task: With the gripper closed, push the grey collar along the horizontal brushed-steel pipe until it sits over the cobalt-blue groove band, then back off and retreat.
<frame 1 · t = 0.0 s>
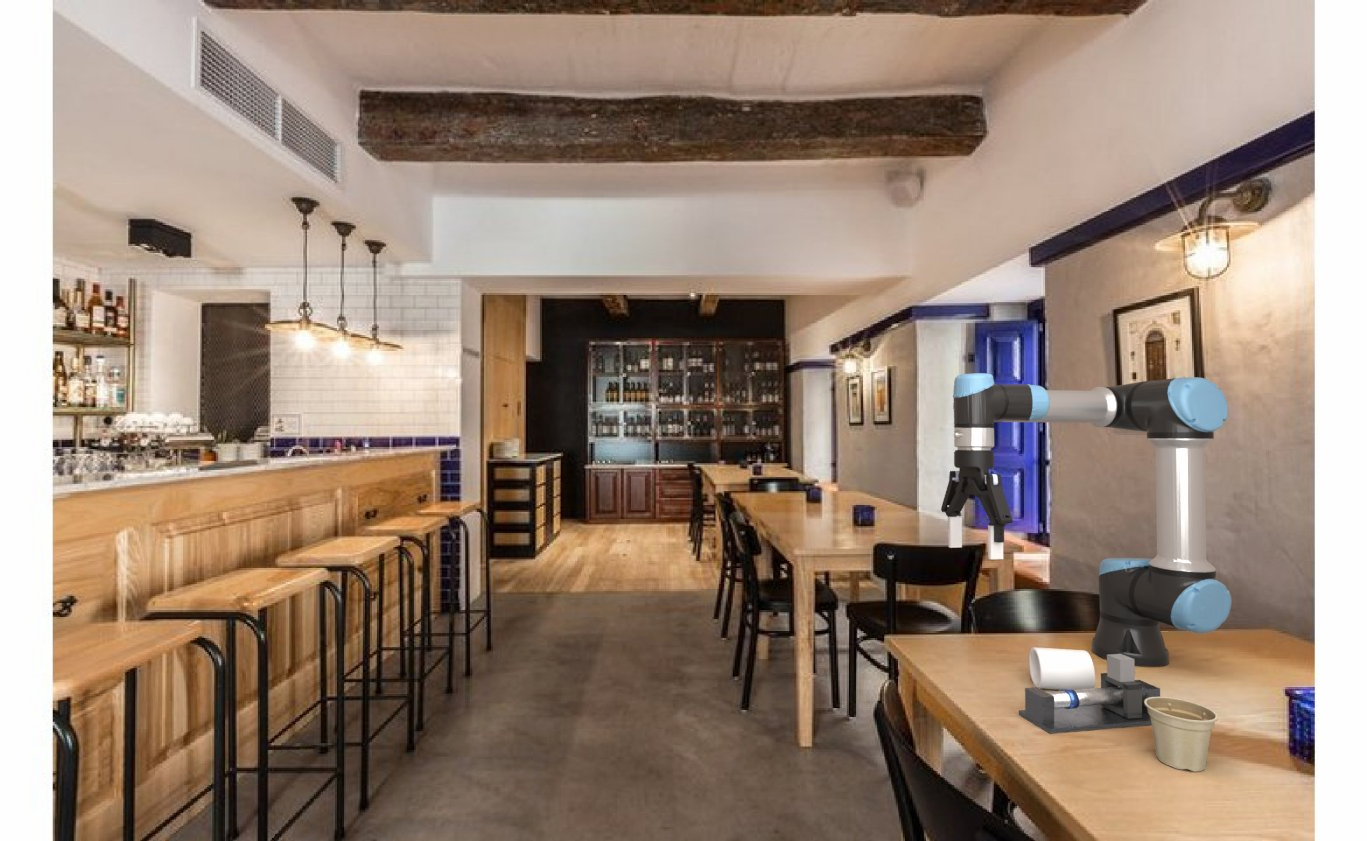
hand: (974, 552, 134), 28 cm above the table, fingers open, 13 cm apart
collar: (1120, 683, 122), point 6 cm above the table, slide at 0.0 cm
mug: (1057, 686, 137), on the table
pipe rig: (1092, 718, 121), on the table
flower pot: (1181, 764, 104), on the table
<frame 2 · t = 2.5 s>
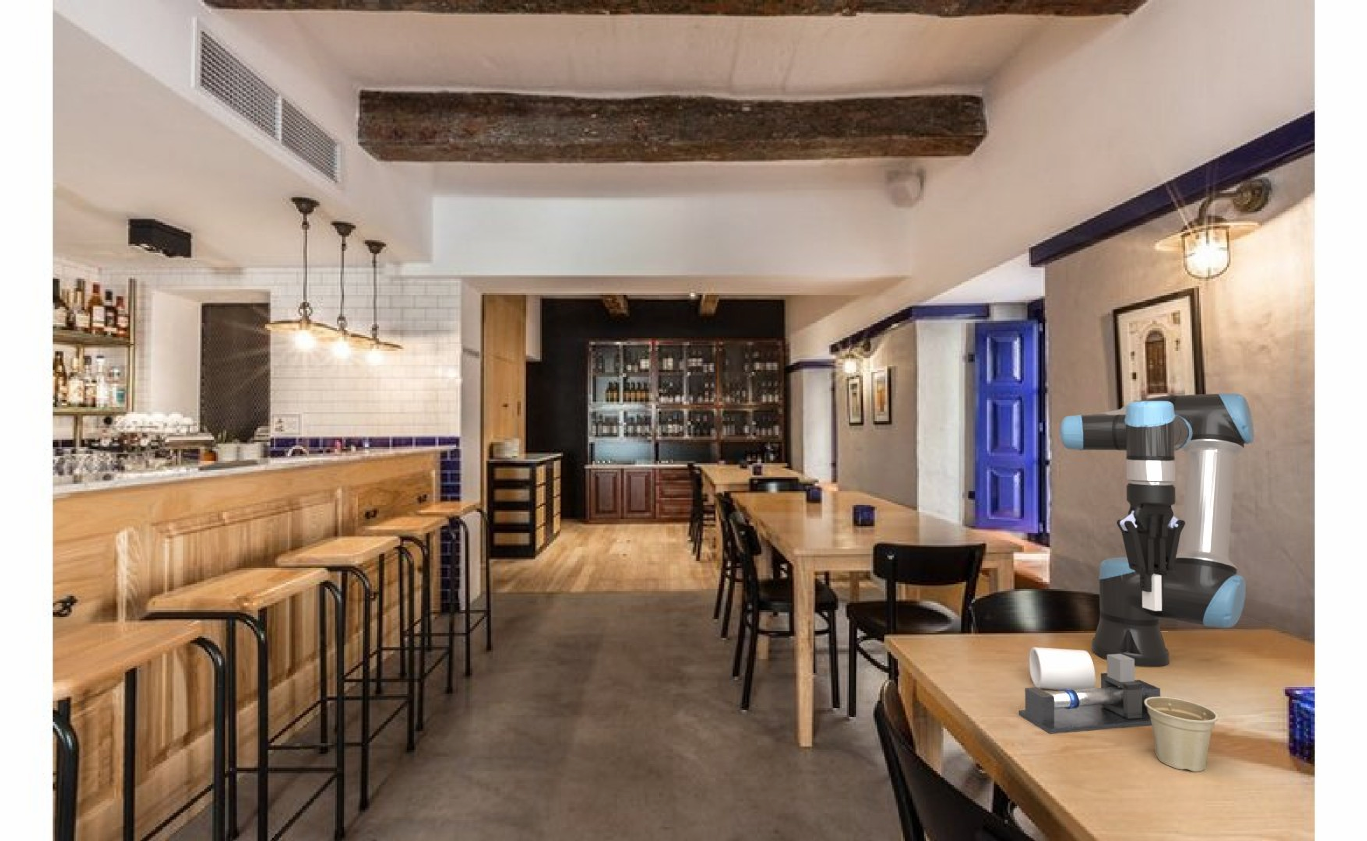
hand: (1151, 608, 123), 20 cm above the table, fingers closed
nothing on the table moved.
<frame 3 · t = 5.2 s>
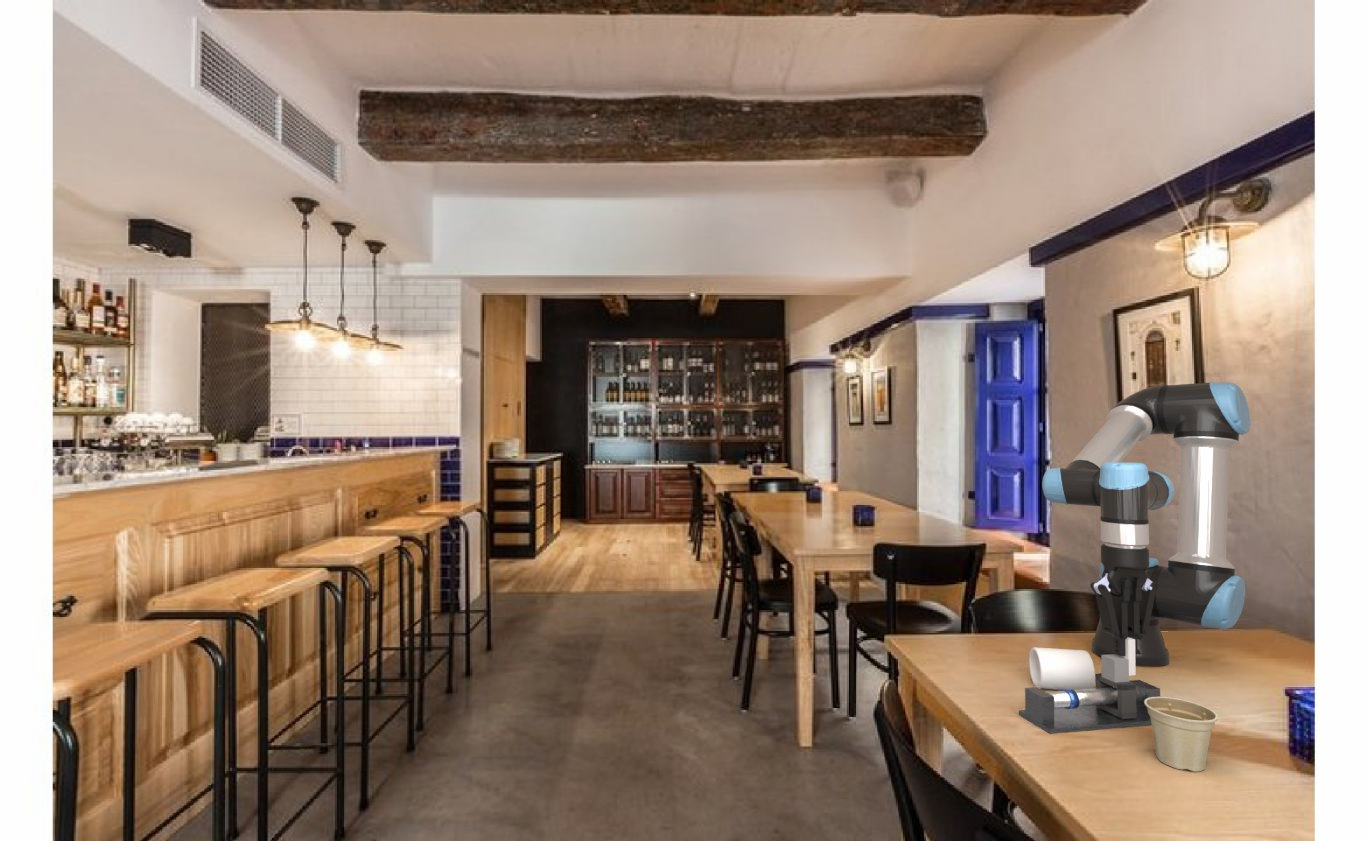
hand: (1125, 672, 122), 8 cm above the table, fingers closed
collar: (1115, 684, 122), point 6 cm above the table, slide at 1.2 cm, touching gripper
everything else where it was.
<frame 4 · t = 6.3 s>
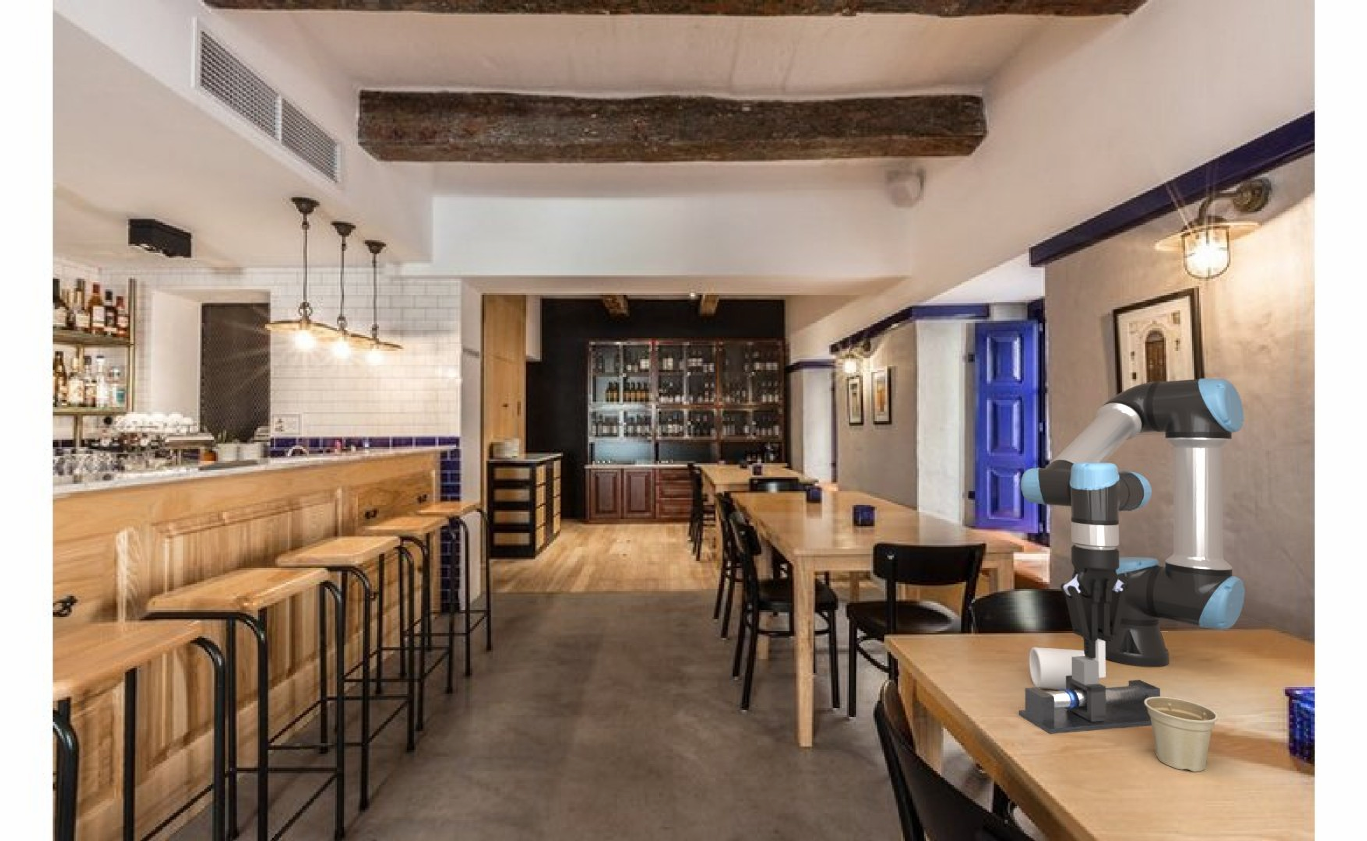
hand: (1096, 674, 121), 8 cm above the table, fingers closed
collar: (1085, 686, 120), point 6 cm above the table, slide at 7.5 cm, touching gripper
everything else where it was.
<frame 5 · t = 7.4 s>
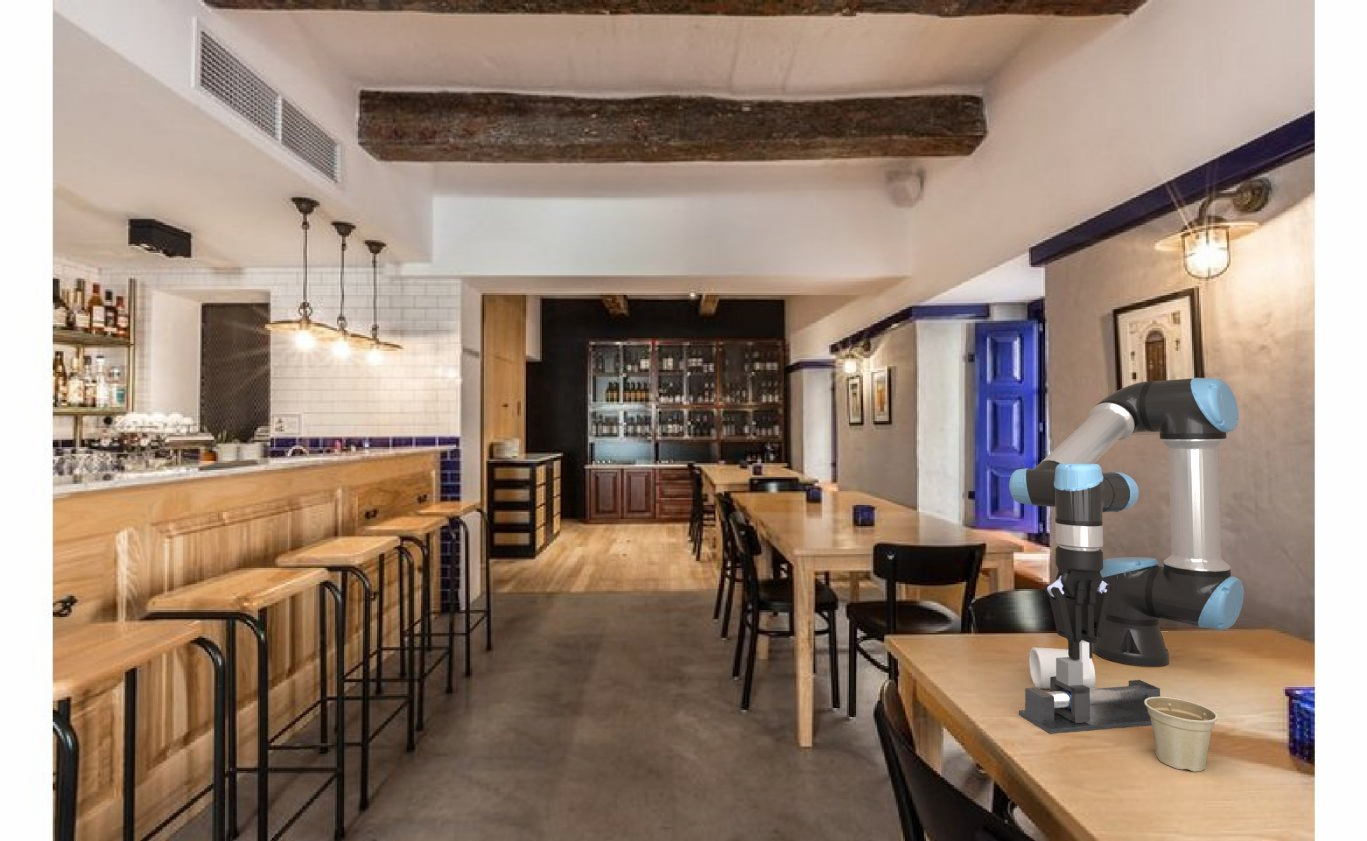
hand: (1080, 676, 120), 8 cm above the table, fingers closed
collar: (1069, 687, 120), point 6 cm above the table, slide at 10.8 cm, touching gripper
everything else where it was.
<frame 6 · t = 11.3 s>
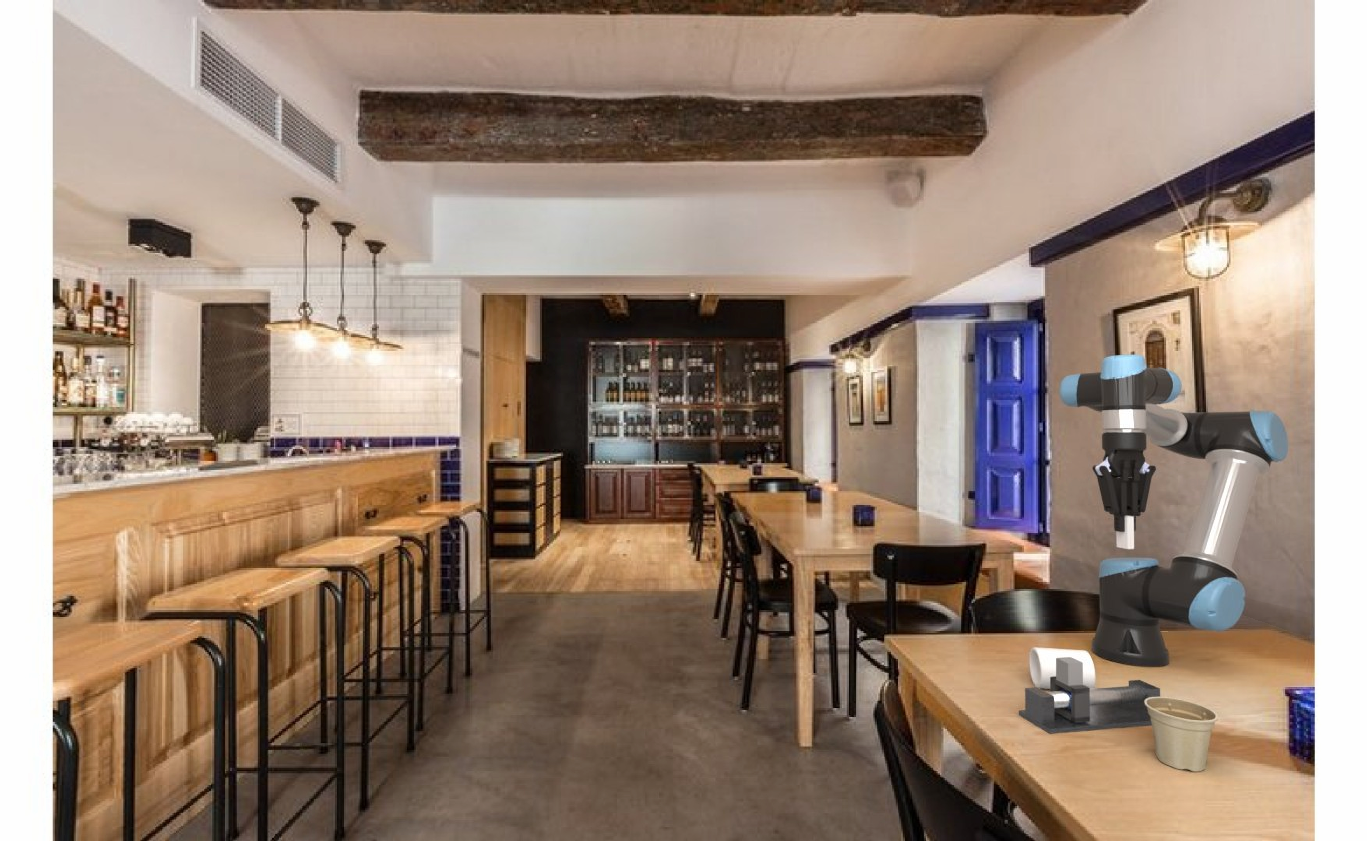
hand: (1125, 547, 133), 29 cm above the table, fingers closed
collar: (1069, 687, 120), point 6 cm above the table, slide at 10.8 cm
everything else where it was.
at the end: collar slide at 10.8 cm; collar touching nothing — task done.
